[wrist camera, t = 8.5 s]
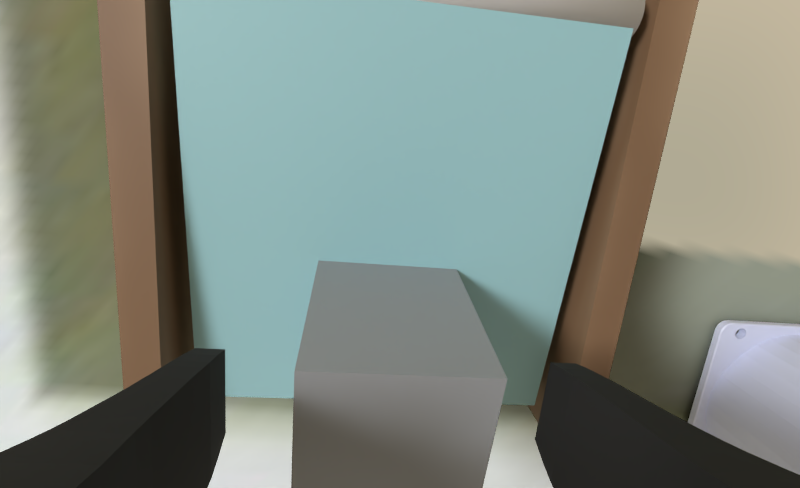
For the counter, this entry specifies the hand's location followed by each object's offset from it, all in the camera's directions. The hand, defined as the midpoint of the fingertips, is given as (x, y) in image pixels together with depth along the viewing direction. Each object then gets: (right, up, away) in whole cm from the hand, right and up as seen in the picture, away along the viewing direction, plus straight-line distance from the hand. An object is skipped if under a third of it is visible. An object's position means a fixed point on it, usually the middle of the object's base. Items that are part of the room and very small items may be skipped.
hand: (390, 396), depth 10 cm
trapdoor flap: (0, +7, +5) cm, 9 cm away
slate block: (0, +1, +4) cm, 4 cm away
